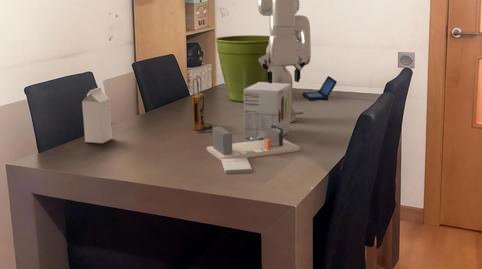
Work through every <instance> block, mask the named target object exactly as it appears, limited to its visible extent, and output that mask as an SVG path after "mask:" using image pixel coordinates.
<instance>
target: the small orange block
mask: <svg viewBox="0 0 482 269" xmlns="http://www.w3.org/2000/svg"><path fill="white" fill-rule="evenodd" d="M264 148H266V149H271V140H269V139H267V138H266V139H264Z"/></svg>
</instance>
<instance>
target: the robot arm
mask: <svg viewBox="0 0 482 269" xmlns="http://www.w3.org/2000/svg"><path fill="white" fill-rule="evenodd" d="M257 9H258V13H259V14H260V15H262V16H264V17H269V18H268V19H269V34H270V35H269V36H270V38H269V45H268V46H267V49H266V55H264V56H262V57H261V58H259V62H260V64H261V66H262V67H263V68H264V69H265V70H266V80H267V81H268V83H285V84H291V106H290V123H294V122H296V121H297V117H296V116H297V115H303V114H304V109H297V108H296V109H295V108H294V107H293V79H294V82H295V83H299V82H300V80H301V71H302V70H303V68H304V67H305V66H307V65H309V64H310V62H311V59H312V58H311V57H312V48H311V46H312V45H311V43H312V42H311V25H310V20H309V18H308V17H307V16H306V15H301V14H297V13H298V11H299V10H300V0H257ZM266 59H267V63H268V65H266V64H265V63H264V60H266ZM292 66H293V67H294V68H295V69H294V72H293V74H294V75H292V73H291V72H290V71H289V69H288V68H287V67H292ZM293 76H294V78H293Z"/></svg>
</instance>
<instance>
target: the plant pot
mask: <svg viewBox="0 0 482 269" xmlns="http://www.w3.org/2000/svg"><path fill="white" fill-rule="evenodd" d="M270 36H271V35H254V34H253V35H249V34H248V35H230V36H221V37H219V36H218V37H215V42H216V49H217V50H216V51H217V53H218V59H219V64H220V65H219V66H220V68H221V74H222V77H223V81H224V84H225V87H226V91H227V93H226V94H227V98H228V99H229V100H230V101H234V102H243V103H244V92H243V90H244V89H245V88H247V87H249V86H251V85H253V84H256V83H258V82H268V81H267V80H266V70H265V69H264V68H263V67H262V66H261V64H260V62H259V58H261V57H262V56H264V55H266V49H267V46H268V45H269V38H270ZM264 63H265V64H266V65H268V63H267V59H266V60H264Z"/></svg>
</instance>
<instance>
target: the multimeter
mask: <svg viewBox="0 0 482 269" xmlns="http://www.w3.org/2000/svg"><path fill="white" fill-rule="evenodd" d="M198 78H199V79H198ZM199 80H200V82H202V77H200V76H196V78H193V80H192V90H193V93H192V94H193V95H192V97H191V98H192V102H191V103H192V125H193V130H194V131H196V132H197V133H199V134H200V133H201V134H203V133H208V132H212V128H213V127H214V126H212V124H211V123H208V125H209V126H208V128H211V129H208V130H205V131H201V130H202V129H203V128H204V127H205V126H206V125H207V123H206V121H205V120H206V117H205V116H206V115H205V94H204V93H202V91H200V90H202V83H200V89H199ZM195 81H196V94H195V87H194V84H195V83H194V82H195Z"/></svg>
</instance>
